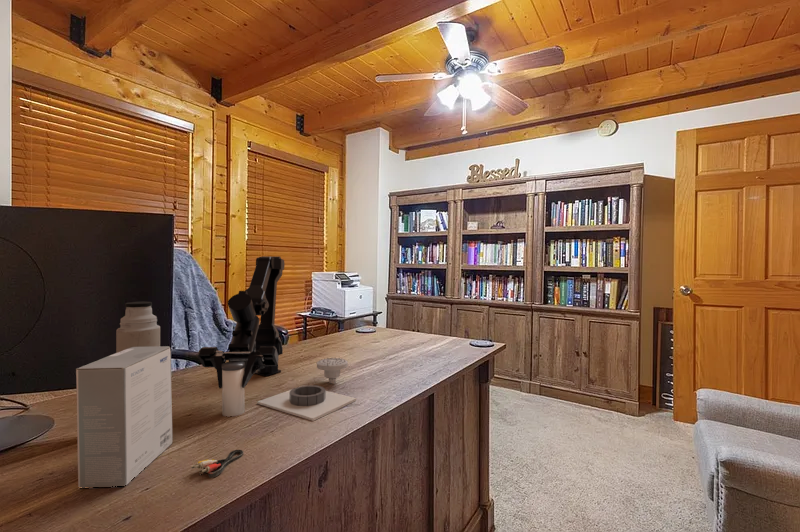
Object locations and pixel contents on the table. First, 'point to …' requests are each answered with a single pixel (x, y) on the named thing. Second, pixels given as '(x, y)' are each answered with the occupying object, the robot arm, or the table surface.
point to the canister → (232, 388)
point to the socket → (307, 402)
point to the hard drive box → (123, 415)
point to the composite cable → (216, 464)
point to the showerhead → (332, 367)
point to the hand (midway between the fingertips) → (231, 387)
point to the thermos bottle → (137, 327)
